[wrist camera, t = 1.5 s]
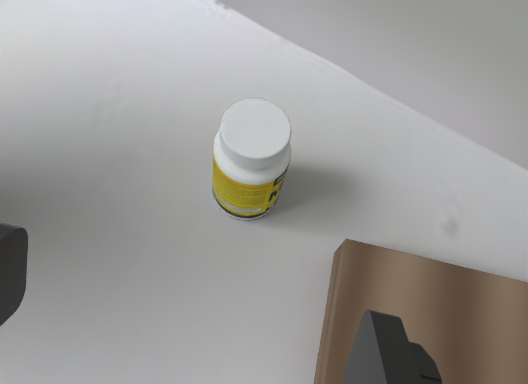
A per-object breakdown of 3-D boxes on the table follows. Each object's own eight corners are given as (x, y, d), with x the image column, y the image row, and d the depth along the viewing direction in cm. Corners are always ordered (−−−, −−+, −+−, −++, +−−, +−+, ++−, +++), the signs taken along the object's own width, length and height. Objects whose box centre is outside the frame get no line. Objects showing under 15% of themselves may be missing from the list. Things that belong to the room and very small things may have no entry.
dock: (309, 409, 28) (330, 410, 23) (334, 252, 32) (356, 225, 27) (537, 464, 28) (606, 476, 23) (531, 300, 32) (589, 281, 27)
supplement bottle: (274, 226, 32) (294, 172, 25) (207, 216, 32) (206, 158, 25) (281, 166, 35) (301, 98, 27) (218, 156, 34) (220, 85, 27)
